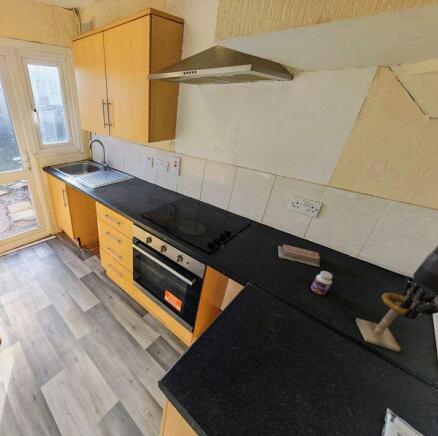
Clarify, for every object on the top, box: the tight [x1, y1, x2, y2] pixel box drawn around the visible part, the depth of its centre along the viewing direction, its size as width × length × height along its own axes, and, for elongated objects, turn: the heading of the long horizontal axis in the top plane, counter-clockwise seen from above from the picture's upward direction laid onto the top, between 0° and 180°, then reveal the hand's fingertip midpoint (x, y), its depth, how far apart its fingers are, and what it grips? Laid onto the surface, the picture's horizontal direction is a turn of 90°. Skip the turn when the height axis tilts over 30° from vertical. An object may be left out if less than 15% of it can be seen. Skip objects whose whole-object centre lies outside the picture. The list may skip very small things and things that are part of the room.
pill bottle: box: [310, 270, 334, 296], centre depth 94 cm, size 5×5×10 cm
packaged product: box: [277, 244, 321, 268], centre depth 117 cm, size 18×5×10 cm
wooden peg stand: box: [354, 301, 403, 352], centre depth 75 cm, size 9×9×16 cm
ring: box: [381, 292, 422, 317], centre depth 72 cm, size 9×9×2 cm
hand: (405, 313), depth 69 cm, fingers closed on ring, 2 cm apart
